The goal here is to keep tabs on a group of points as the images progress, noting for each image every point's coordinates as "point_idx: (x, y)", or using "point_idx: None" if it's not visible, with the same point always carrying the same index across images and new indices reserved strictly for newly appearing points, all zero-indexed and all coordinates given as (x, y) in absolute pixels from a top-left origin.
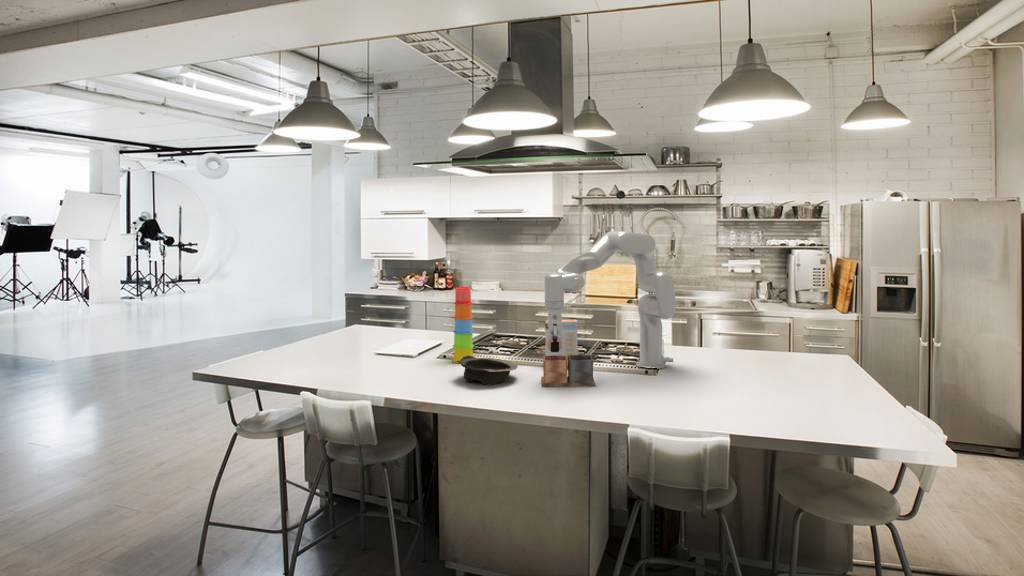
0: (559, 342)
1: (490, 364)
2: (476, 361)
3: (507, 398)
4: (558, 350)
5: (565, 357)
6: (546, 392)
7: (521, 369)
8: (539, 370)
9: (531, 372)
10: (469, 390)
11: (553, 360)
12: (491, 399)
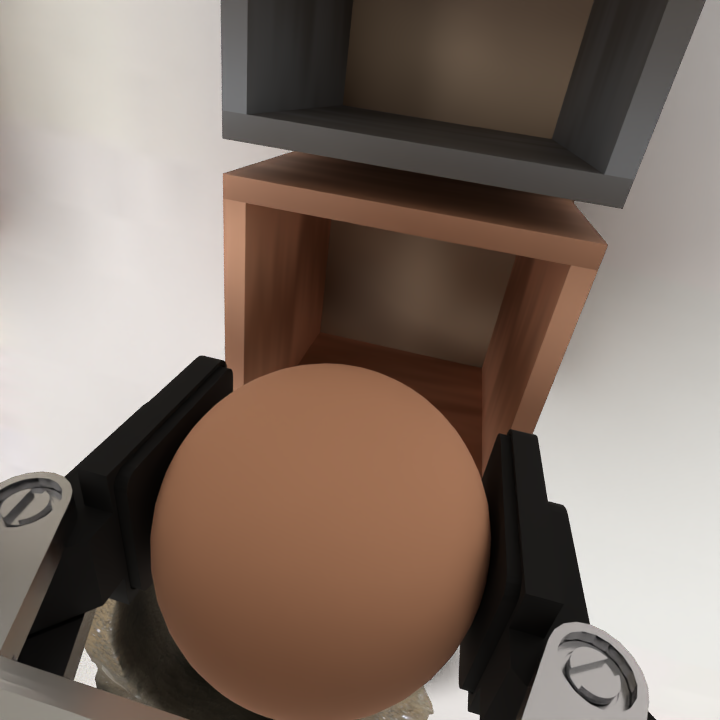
0: (451, 531)
1: (133, 602)
2: (142, 674)
3: (691, 618)
4: (538, 457)
5: (384, 221)
6: (675, 395)
7: (46, 394)
8: (51, 292)
9: (110, 356)
10: (454, 690)
11: (527, 430)
12: (666, 674)
